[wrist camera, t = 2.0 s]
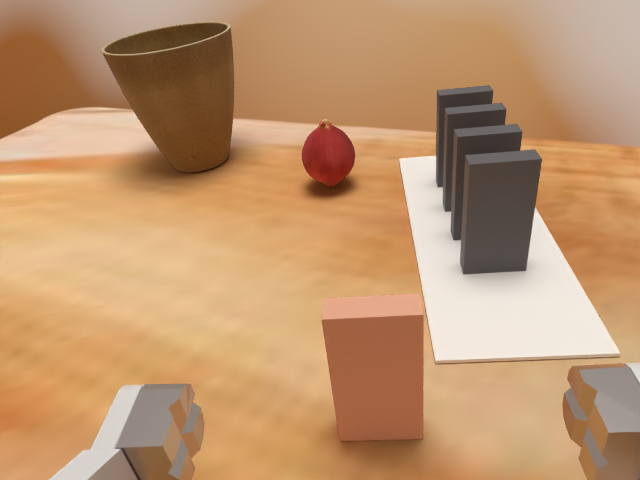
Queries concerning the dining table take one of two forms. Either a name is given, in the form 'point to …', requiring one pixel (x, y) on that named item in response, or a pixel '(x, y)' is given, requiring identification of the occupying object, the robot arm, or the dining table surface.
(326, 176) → the onion
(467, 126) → the domino
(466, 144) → the domino
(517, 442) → the dining table surface
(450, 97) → the domino
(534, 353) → the mat
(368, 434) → the terracotta domino
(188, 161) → the plant pot
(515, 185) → the domino
